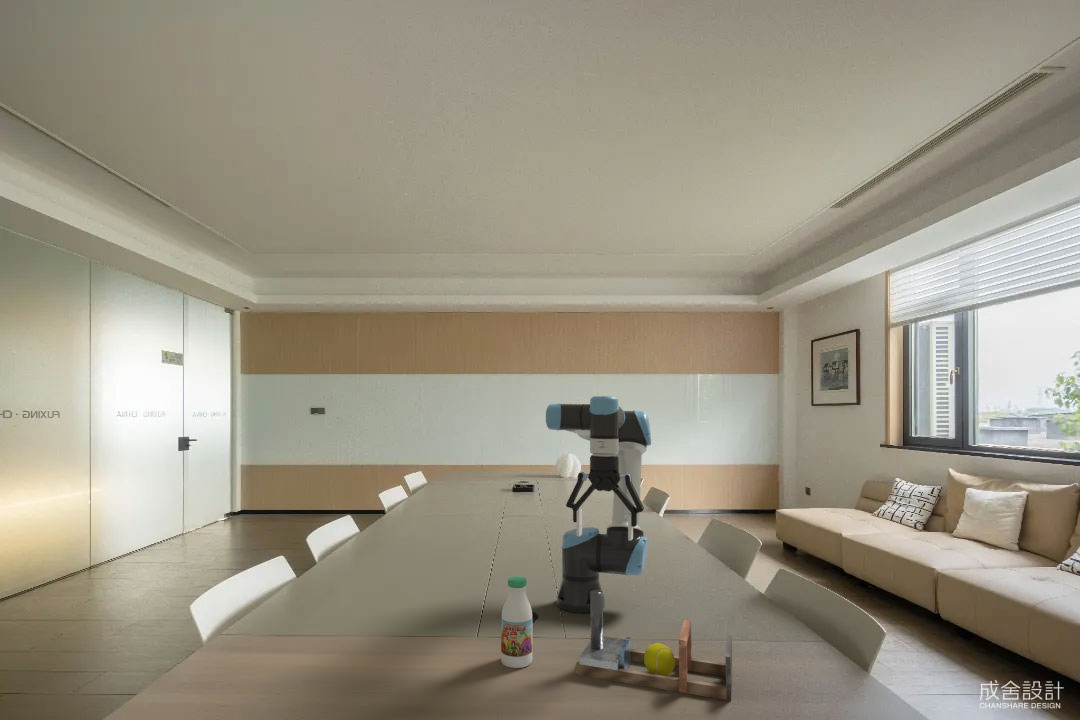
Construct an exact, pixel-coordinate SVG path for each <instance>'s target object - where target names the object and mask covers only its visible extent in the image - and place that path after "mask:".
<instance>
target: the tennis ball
mask: <svg viewBox="0 0 1080 720" xmlns="http://www.w3.org/2000/svg"><path fill="white" fill-rule="evenodd" d="M644 651H645V654H644V663H643V664H644V665H645V668H646V670H647V672H648V673H651V674H657V675H663V676H670V675H671V674H672V673H673V671H674V670H675V668H674V667H675V658H674V656H675V655H674V653H673V651H672V650H671V647H669V646H667V645H665V644H663V643H660V642H656V643H653V644H650V645H649V646H648V647H647V648H646V649H645V650H644Z"/></svg>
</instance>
